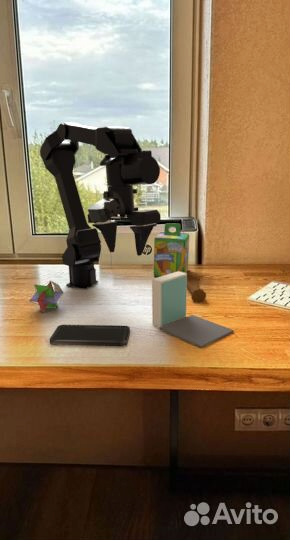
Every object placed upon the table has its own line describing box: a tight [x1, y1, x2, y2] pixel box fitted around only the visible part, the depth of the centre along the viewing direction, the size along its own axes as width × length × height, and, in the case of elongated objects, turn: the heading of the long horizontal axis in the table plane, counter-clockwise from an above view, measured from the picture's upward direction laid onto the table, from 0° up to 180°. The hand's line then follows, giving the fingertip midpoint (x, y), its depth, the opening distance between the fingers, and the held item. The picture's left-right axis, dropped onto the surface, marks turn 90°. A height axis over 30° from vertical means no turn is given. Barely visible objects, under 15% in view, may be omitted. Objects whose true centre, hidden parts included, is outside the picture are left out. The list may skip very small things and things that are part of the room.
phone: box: [48, 324, 131, 348], centre depth 81 cm, size 8×1×15 cm
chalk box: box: [153, 222, 190, 277], centre depth 119 cm, size 9×9×15 cm
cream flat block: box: [151, 271, 188, 328], centre depth 87 cm, size 3×8×10 cm, turn 133°
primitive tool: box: [187, 275, 207, 303], centre depth 108 cm, size 19×6×4 cm, turn 4°
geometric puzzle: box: [29, 280, 64, 314], centre depth 94 cm, size 7×7×8 cm
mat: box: [159, 314, 235, 349], centre depth 83 cm, size 11×10×1 cm
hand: (125, 253), depth 95 cm, fingers open, 9 cm apart
